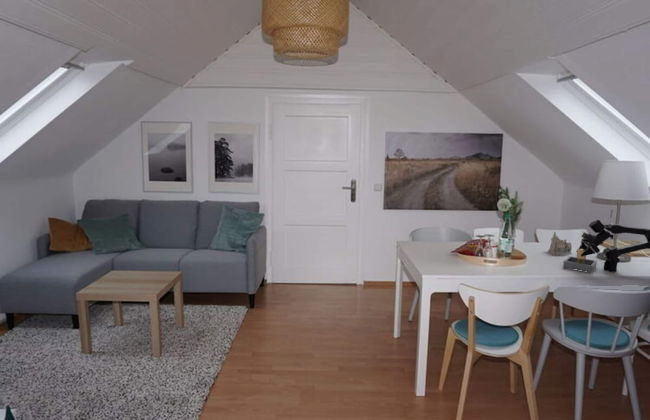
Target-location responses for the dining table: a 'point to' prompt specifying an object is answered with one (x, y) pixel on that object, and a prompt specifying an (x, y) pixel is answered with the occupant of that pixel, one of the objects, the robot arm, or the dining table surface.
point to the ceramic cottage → (559, 246)
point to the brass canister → (580, 258)
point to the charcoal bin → (572, 264)
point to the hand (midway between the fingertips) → (578, 253)
